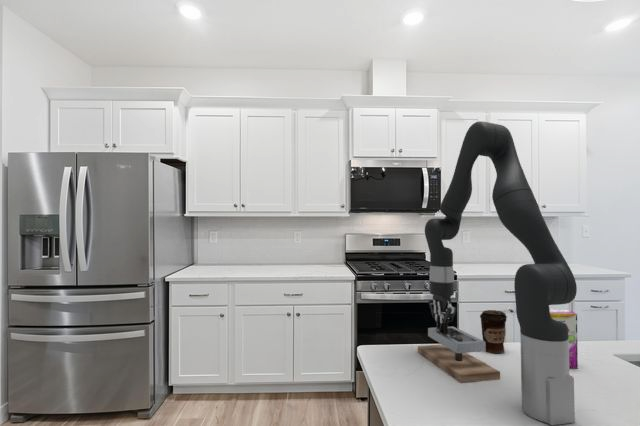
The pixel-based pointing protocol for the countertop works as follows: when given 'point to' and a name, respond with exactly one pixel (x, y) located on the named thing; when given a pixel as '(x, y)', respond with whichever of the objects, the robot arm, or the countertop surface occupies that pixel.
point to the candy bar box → (569, 332)
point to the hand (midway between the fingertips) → (442, 333)
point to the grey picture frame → (466, 346)
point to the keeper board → (459, 363)
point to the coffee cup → (493, 330)
